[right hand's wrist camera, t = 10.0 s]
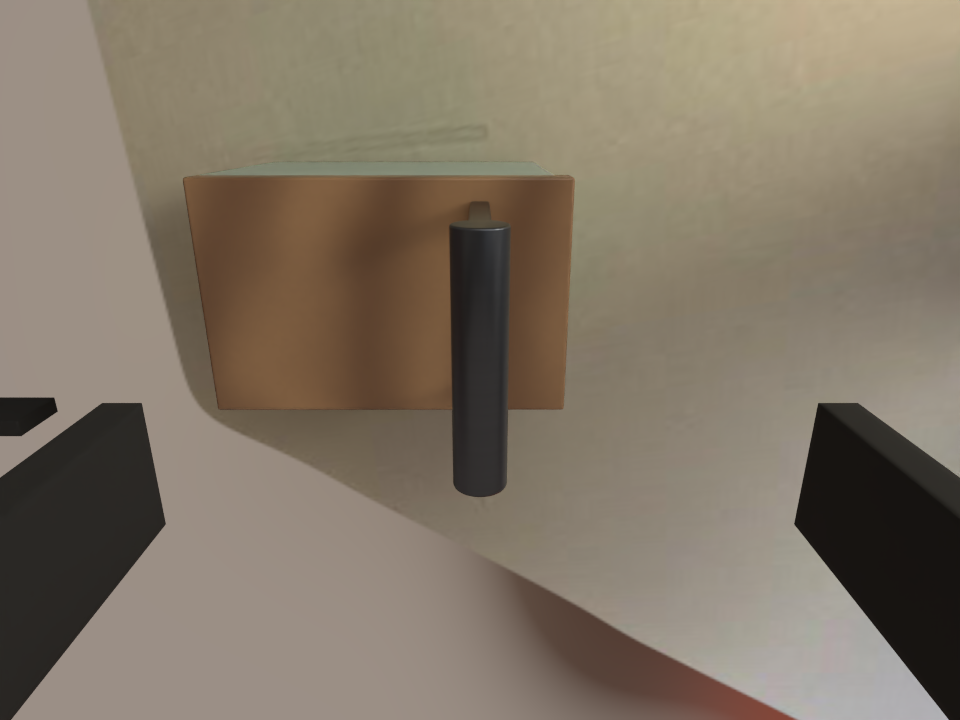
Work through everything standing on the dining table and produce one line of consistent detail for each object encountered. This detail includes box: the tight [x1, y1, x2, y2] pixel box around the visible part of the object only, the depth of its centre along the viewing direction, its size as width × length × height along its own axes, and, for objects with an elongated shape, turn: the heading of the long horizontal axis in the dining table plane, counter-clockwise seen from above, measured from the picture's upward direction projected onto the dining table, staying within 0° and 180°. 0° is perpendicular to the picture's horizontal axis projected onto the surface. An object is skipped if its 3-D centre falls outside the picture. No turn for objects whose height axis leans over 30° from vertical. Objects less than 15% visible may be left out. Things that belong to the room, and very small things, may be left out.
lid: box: [183, 175, 575, 497], centre depth 21 cm, size 14×9×9 cm, turn 90°
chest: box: [201, 162, 553, 175], centre depth 30 cm, size 14×9×10 cm
